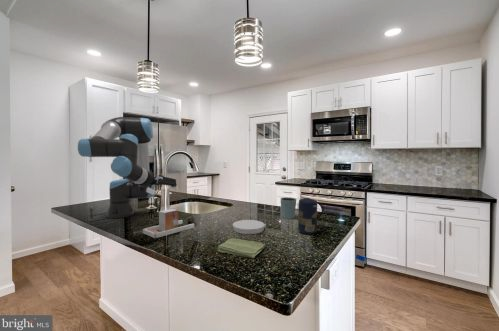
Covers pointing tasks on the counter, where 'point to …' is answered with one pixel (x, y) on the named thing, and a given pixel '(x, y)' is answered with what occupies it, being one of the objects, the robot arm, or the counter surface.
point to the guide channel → (167, 232)
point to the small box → (168, 219)
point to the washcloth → (241, 247)
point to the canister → (307, 216)
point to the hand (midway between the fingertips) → (165, 190)
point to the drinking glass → (288, 208)
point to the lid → (248, 226)
